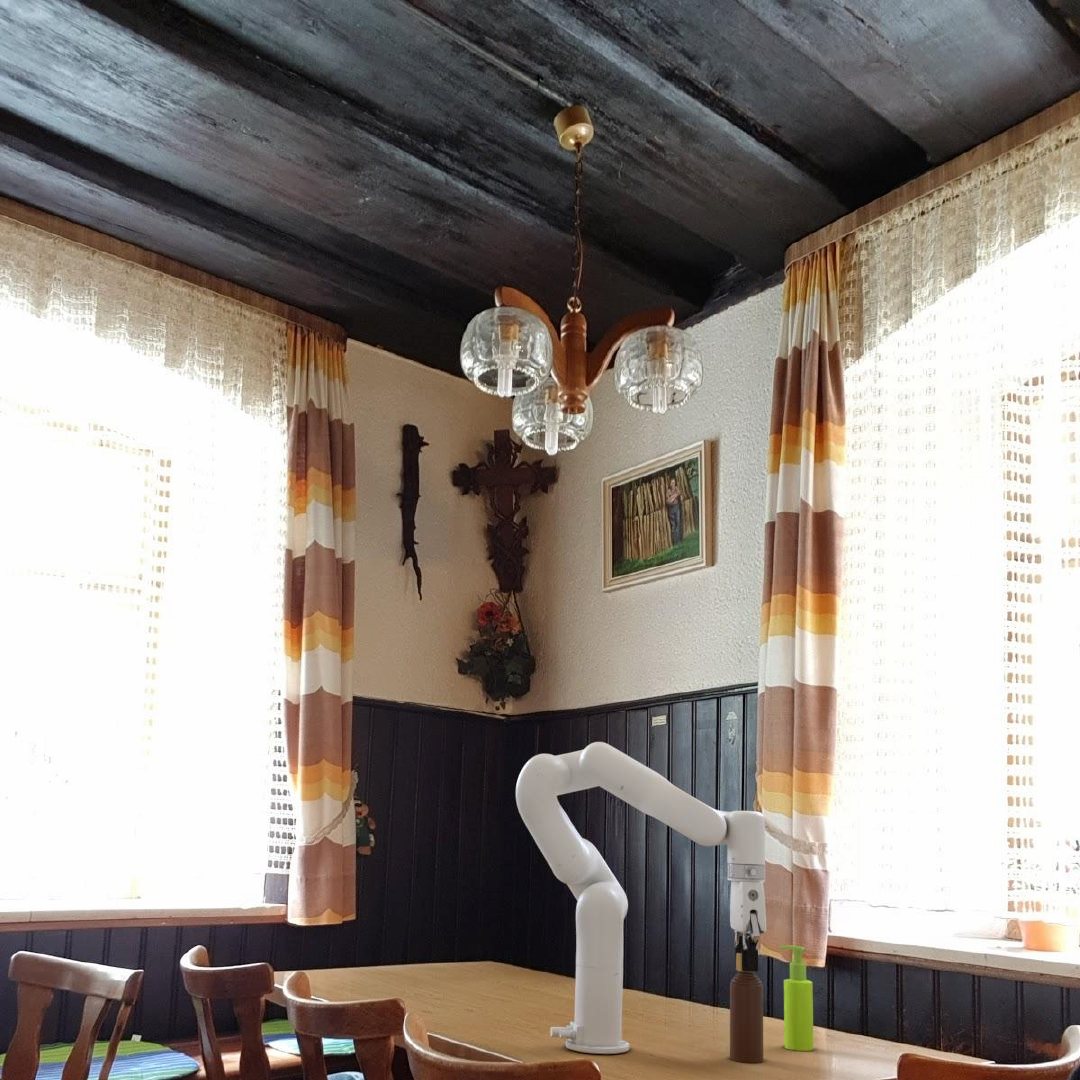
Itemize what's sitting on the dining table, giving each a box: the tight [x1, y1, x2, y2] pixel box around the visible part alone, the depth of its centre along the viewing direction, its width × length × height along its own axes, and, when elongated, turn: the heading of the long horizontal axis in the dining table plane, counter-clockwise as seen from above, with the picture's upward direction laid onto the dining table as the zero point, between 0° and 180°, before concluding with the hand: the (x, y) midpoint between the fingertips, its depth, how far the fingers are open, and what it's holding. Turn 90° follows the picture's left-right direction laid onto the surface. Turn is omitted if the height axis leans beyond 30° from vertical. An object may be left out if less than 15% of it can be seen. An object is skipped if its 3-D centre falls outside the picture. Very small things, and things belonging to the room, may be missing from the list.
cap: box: [735, 953, 747, 972], centre depth 233 cm, size 4×4×3 cm
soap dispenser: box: [778, 944, 815, 1052], centre depth 246 cm, size 6×7×20 cm
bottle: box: [729, 971, 764, 1064], centre depth 231 cm, size 6×6×19 cm
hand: (746, 968), depth 232 cm, fingers closed on cap, 3 cm apart
